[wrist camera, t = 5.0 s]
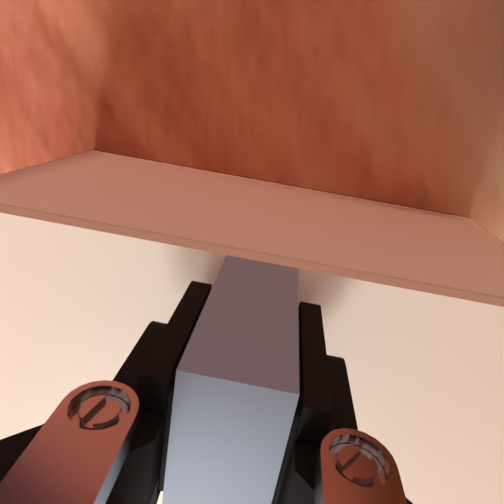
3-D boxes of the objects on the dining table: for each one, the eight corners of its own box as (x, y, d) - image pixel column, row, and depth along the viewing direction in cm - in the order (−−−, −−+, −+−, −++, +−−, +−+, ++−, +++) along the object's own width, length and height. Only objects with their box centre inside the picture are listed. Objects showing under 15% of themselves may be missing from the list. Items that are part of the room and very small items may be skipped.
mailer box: (381, 445, 27) (428, 632, 17) (91, 386, 27) (-15, 535, 18) (468, 217, 21) (611, 317, 11) (93, 150, 21) (-64, 191, 12)
